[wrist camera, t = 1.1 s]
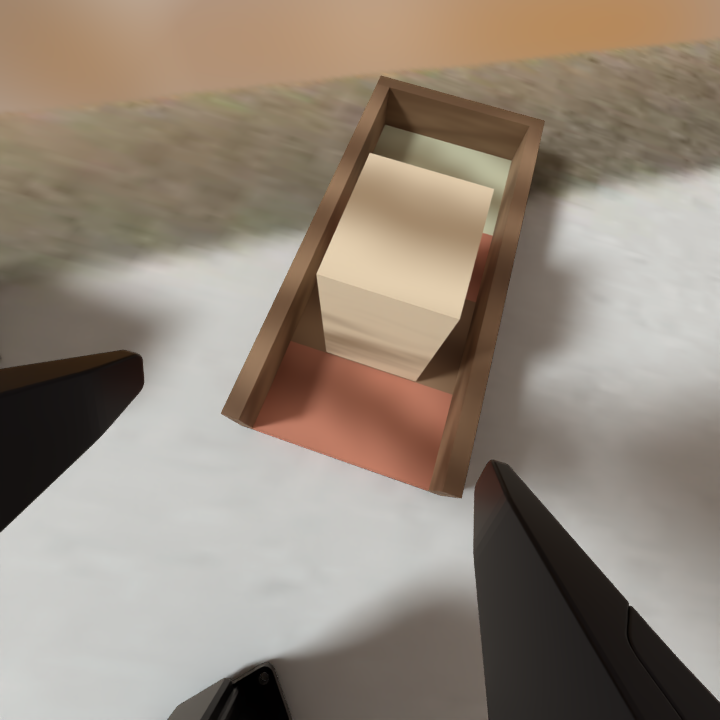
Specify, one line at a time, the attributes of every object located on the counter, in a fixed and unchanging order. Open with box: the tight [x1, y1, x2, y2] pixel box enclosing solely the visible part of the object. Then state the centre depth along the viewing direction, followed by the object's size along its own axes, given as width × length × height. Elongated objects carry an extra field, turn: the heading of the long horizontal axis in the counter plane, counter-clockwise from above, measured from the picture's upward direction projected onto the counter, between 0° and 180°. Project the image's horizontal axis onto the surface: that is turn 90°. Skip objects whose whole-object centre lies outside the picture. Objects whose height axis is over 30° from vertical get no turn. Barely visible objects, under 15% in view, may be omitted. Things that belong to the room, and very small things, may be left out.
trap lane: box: [221, 76, 545, 498], centre depth 24 cm, size 28×13×4 cm, turn 161°
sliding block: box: [316, 153, 494, 382], centre depth 19 cm, size 7×6×9 cm
